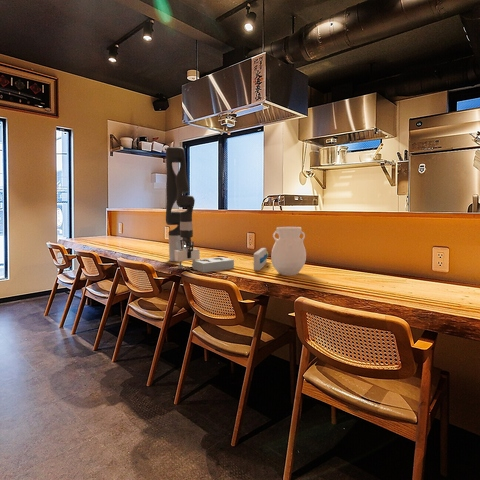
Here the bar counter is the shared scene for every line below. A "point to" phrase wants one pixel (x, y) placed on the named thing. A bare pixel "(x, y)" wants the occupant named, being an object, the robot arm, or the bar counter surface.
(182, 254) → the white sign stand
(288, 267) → the white vase
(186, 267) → the bar counter surface
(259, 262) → the decorative sign
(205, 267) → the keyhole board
